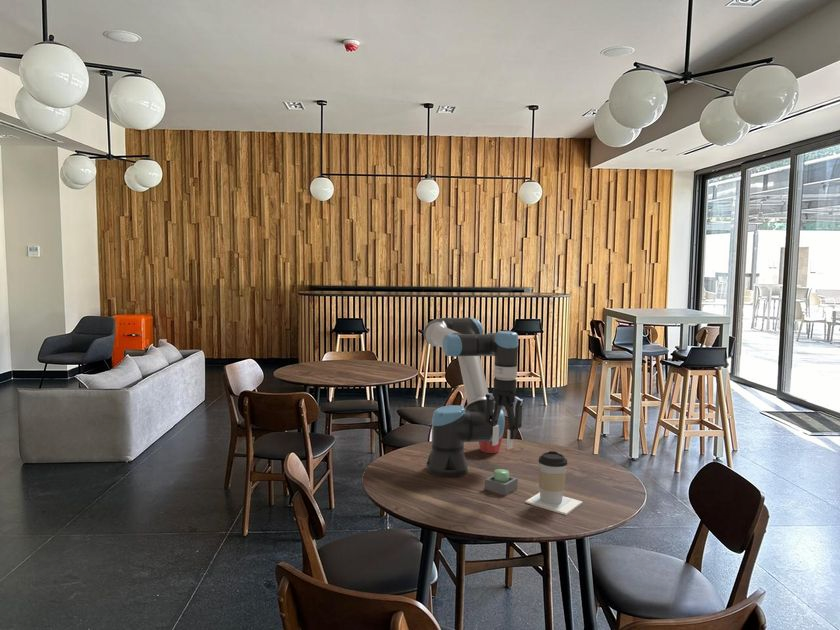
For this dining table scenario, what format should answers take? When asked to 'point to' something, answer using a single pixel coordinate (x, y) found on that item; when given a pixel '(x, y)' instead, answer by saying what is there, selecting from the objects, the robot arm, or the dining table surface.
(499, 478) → the button
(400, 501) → the dining table surface
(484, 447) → the flower pot
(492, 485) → the button box
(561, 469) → the coffee cup
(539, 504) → the white flat piece
